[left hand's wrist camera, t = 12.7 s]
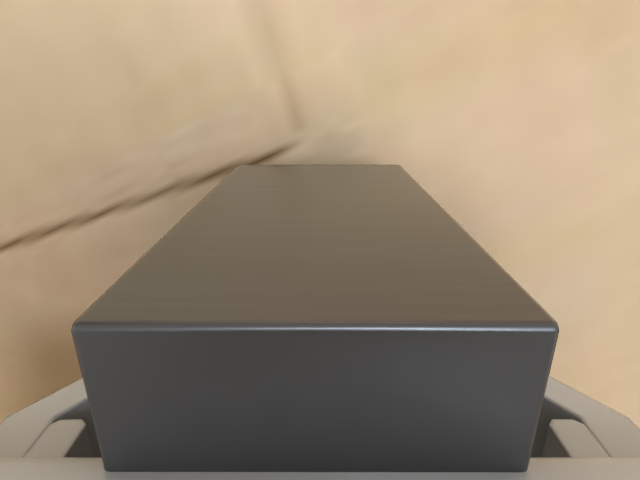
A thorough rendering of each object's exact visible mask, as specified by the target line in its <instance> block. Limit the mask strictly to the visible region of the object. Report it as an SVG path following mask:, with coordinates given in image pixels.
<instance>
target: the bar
mask: <svg viewBox="0 0 640 480" xmlns="http://www.w3.org/2000/svg"><path fill="white" fill-rule="evenodd" d="M558 333H559V328H558V324H557V322H556V321H555V320H554V319H553V318H552V317H551V316H550V315H549V314H548V313H547V312H546V311H545V310H544V309H543V308H542V307H541V306H540V305H539V304H538V303H537V302H536V301H535V300H534V299H533V298H532V297H531V296H530V295H529V294H528V293H527V292H526V291H525V290H524V289H523V288H522V287H521V286H520V285H519V284H518V283H517V282H516V281H515V280H514V279H513V278H512V277H511V276H510V275H509V274H508V273H507V272H506V271H505V270H504V269H503V268H502V267H501V266H500V265H499V264H498V263H497V262H496V261H495V260H494V259H493V258H492V257H491V256H490V255H489V254H488V253H487V252H486V251H485V250H484V249H483V248H482V247H481V246H480V245H479V244H478V243H477V242H476V241H475V240H474V239H473V238H472V237H471V236H470V235H469V234H468V233H467V232H466V231H465V230H464V229H463V228H462V227H461V226H460V225H459V224H458V223H457V222H456V221H455V220H454V219H453V218H452V217H451V216H450V215H449V214H448V213H447V212H446V211H445V210H444V209H443V208H442V207H441V206H440V205H439V204H438V203H437V202H436V201H435V200H434V199H433V198H432V197H431V196H430V195H429V194H428V193H427V192H426V191H425V190H424V189H423V188H422V187H421V186H420V185H419V184H418V183H417V182H416V181H415V180H414V179H413V178H412V177H411V176H410V175H409V174H408V173H407V172H406V171H405V170H404V169H403V168H402V167H401V166H399V165H238V166H237V167H236V168H235V169H234V170H233V171H232V172H231V173H230V174H229V175H228V176H226V177H225V178H224V179H223V180H222V181H221V182H220V183H219V184H218V185H217V186H216V187H215V188H214V189H213V190H212V191H211V192H210V193H209V194H208V195H207V196H206V197H204V198H203V199H202V200H201V201H200V202H199V203H198V204H197V205H196V206H195V207H194V208H193V209H192V210H191V211H190V212H189V213H188V214H187V215H186V216H185V217H184V218H182V219H181V220H180V221H179V222H178V223H177V224H176V225H175V226H174V227H173V228H172V229H171V230H170V231H169V232H168V233H167V234H166V235H165V236H164V237H163V238H162V239H160V240H159V241H158V242H157V243H156V244H155V245H154V246H153V247H152V248H151V249H150V250H149V251H148V252H147V253H146V254H145V255H144V256H143V257H142V258H141V259H140V260H138V261H137V262H136V263H135V264H134V265H133V266H132V267H131V268H130V269H129V270H128V271H127V272H126V273H125V274H124V275H123V276H122V277H121V278H120V279H119V280H118V281H117V282H115V283H114V284H113V285H112V286H111V287H110V288H109V289H108V290H107V291H106V292H105V293H104V294H103V295H102V296H101V297H100V298H99V299H98V300H97V301H96V302H95V303H93V304H92V305H91V306H90V307H89V308H88V309H87V310H86V311H85V312H84V313H83V314H82V315H81V316H80V317H79V318H78V319H77V320H76V321H75V322H74V323H73V325H72V335H73V340H74V344H75V348H76V352H77V356H78V360H79V365H80V369H81V373H82V377H83V381H84V385H85V390H86V394H87V398H88V402H89V406H90V410H91V415H92V419H93V423H94V427H95V431H96V436H97V440H98V444H99V448H100V452H101V456H102V461H103V465H104V469H105V470H106V471H108V472H525V471H527V469H528V465H529V460H530V456H531V452H532V447H533V443H534V438H535V434H536V430H537V425H538V421H539V417H540V412H541V408H542V403H543V399H544V395H545V390H546V386H547V382H548V377H549V373H550V368H551V364H552V360H553V355H554V351H555V347H556V342H557V338H558Z"/></svg>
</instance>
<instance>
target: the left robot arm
mask: <svg viewBox="0 0 640 480" xmlns="http://www.w3.org/2000/svg"><path fill="white" fill-rule="evenodd" d="M0 480H640V429H639V428H638V427H637V426H636V425H635V424H634V423H633V422H632V421H631V419H630V418H628V417H626V416H624V415H622V414H620V413H618V412H617V411H615V410H613V409H611V408H609V407H607V406H605V405H603V404H601V403H599V402H598V401H596V400H594V399H592V398H590V397H588V396H586V395H584V394H582V393H581V392H579V391H577V390H575V389H573V388H571V387H569V386H567V385H565V384H564V383H562V382H560V381H558V380H556V379H554V378H552V377H550V376H549V377H548V382H547V386H546V390H545V395H544V399H543V403H542V408H541V412H540V417H539V421H538V425H537V430H536V434H535V438H534V443H533V447H532V452H531V456H530V460H529V465H528V469H527V471H525V472H108V471H106V470H105V469H104V465H103V461H102V456H101V452H100V448H99V444H98V440H97V436H96V431H95V427H94V423H93V419H92V415H91V410H90V406H89V402H88V398H87V394H86V390H85V385H84V381H83V378H81V379H79V380H77V381H75V382H74V383H72V384H70V385H68V386H66V387H64V388H62V389H60V390H58V391H56V392H54V393H52V394H51V395H49V396H47V397H45V398H43V399H41V400H39V401H37V402H35V403H33V404H31V405H29V406H27V407H26V408H24V409H22V410H20V411H18V412H16V413H14V414H12V415H10V416H8V417H6V418H5V419H4V420H3V421H2V423H1V424H0Z"/></svg>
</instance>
